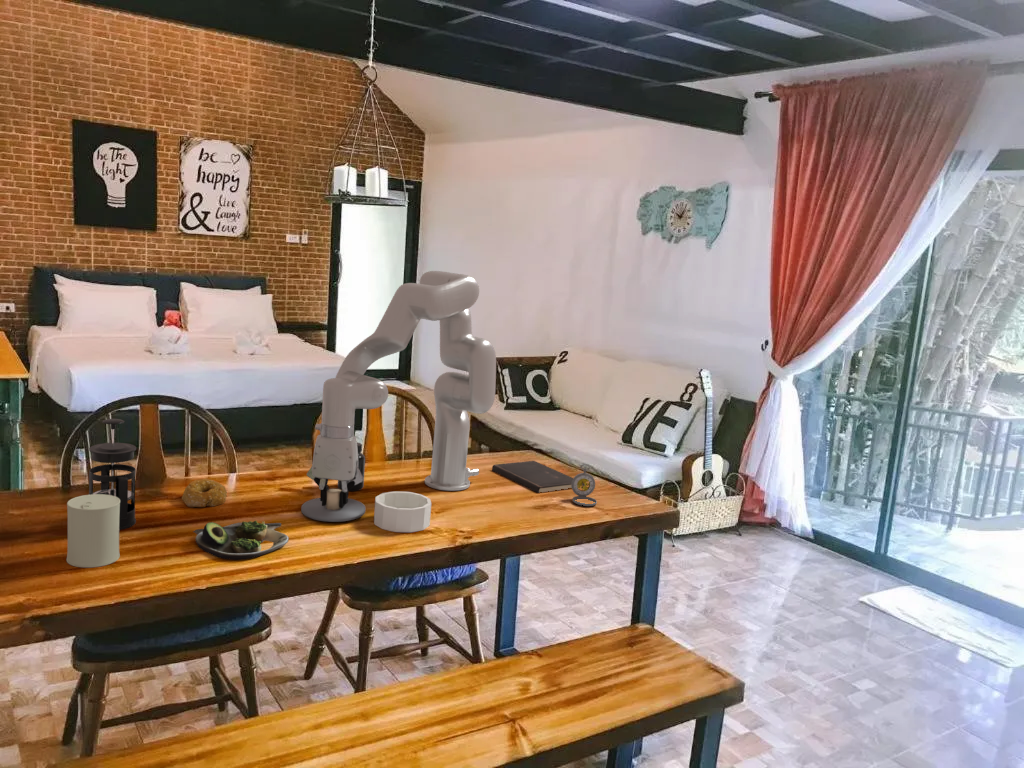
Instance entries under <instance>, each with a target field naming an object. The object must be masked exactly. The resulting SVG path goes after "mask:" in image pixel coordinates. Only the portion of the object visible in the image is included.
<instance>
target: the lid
mask: <svg viewBox="0 0 1024 768" xmlns="http://www.w3.org/2000/svg"><path fill="white" fill-rule="evenodd" d="M341 491H342V490H341V489H339V488H329V490H327V497H326V505H325V506H322V501H320V497H317V498H316V497H315V498H312V499H309V500H307V501H305V502H304V503H302V505H301V507H300V509H301V513H302V514H303V516H305V517H306V518H309V519H311V520H314V521H320V522H333V523H335V522H336V523H337V522H338V523H340V522H346V521H347V522H349V521H353V520H355V519H356V520H357V519H359V518H361V517H363V516H364V515H366V505H365V504H364V503H362V502H361V501H359V500H356V499H353V498H349V497H348V502H347V504H345V506H344V507H343V508H340V507H339V502H340V492H341Z"/></svg>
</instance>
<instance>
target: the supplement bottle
mask: <svg viewBox="0 0 1024 768" xmlns="http://www.w3.org/2000/svg"><path fill="white" fill-rule="evenodd" d="M357 448H358V468H359V470H360V472H361V474H362V476H363V478H364V480H363V481H362V482H360V483H358V484H356V485H354V486H353V487H352V488H350V489H349V490H348V492H357V491H361V490H362V489H363V488H364V483H365V468H366V457H365V454H363V453H362V451H363V444H362V443H360V442H357ZM355 478H356V477H354V478H353V479H355ZM353 479H352V480H353ZM352 480H350V481H352ZM337 489H339V490H342V482H341V481H340V480H337Z"/></svg>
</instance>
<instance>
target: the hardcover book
mask: <svg viewBox="0 0 1024 768" xmlns="http://www.w3.org/2000/svg"><path fill="white" fill-rule="evenodd" d="M491 471H492V472H494V473H496V474H498V475H501V476H502V477H504V478H507V479H509V480H511V481H512V482H515V483H517V484H518V485H521V486H522V487H525V488H527V489H529V490H531V491H533V492H535V493H537V494H540V492H542V493H547V492H548V491H549V492H556V491H555V490H557V491H562V490H561V489H564V490H569V489H568V488H572V487H571V484H572V480H573V478H574V477H572V476H570V475H567V474H566V473H565V474H564V473H562V472H560V471H558V470H556V469H554V468H552V467H549V466H547V465H544V464H542V463H540V462H538V461H535V460H528V461H518V462H516V461H515V462H509V463H499V464H496V463H495V464H493V465H492V468H491ZM577 486H578V485H577ZM578 487H579V486H578Z"/></svg>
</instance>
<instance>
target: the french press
mask: <svg viewBox="0 0 1024 768" xmlns="http://www.w3.org/2000/svg"><path fill="white" fill-rule="evenodd" d="M124 423H125V420H123V419H120V418H108V419H103V420H102V424H104V425H110V430H112V431H111V434H112V435H111V439H112V440H111V441H112V442H104V443H103V442H102V443H98V444H94V445H91V446H90V447H89V448H88V449H89V452H90V453H91V460H92V461H94V462H98V463H103V464H101V465H97V466H93V467H91V468H90V469H89V470H88V472H89V473H88V483H89V484H88V485H89V486H88V495H91V494H105V495H112V496H115V497H118V498H119V499H120V513H119V531H120V530H125V529H128V528H131V527H133V526H134V525H136V523H137V520H136V474H137V472H136V471H137V468H136V467H134V466H132V465H129V464H124V462H128V461H132V460H133V459H134V455H135V451H136V450H137V447H136V445H134V444H131V443H126V442H115V430H116V427H117V425H121V424H124ZM119 463H120V464H119ZM121 463H123V464H121ZM115 471H124V472H129V473H126V474H121V475H115V474H114V473H115ZM96 473H100V475H99V474H96ZM110 473H111V475H110ZM130 480H131V481H130ZM94 481H95V482H100V490H97V491H95V492H94ZM129 481H130V482H131V484H130V485H131V487H130V489H131V490H129ZM110 483H111V485H110ZM114 483H115V488H114ZM110 486H111V488H110ZM128 501H130V503H128Z"/></svg>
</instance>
